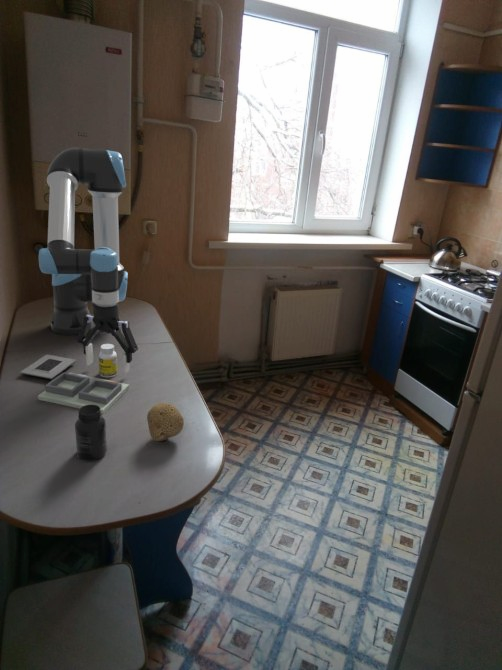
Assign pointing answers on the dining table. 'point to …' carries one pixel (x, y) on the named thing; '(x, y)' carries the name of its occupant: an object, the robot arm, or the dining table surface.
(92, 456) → the supplement bottle
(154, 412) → the natural sponge
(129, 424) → the dining table surface
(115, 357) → the supplement bottle
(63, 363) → the electrical outlet
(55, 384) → the tag board
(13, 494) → the dining table surface
